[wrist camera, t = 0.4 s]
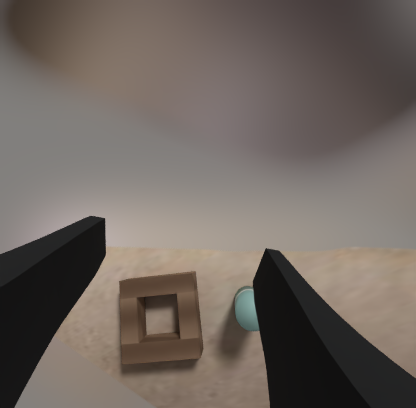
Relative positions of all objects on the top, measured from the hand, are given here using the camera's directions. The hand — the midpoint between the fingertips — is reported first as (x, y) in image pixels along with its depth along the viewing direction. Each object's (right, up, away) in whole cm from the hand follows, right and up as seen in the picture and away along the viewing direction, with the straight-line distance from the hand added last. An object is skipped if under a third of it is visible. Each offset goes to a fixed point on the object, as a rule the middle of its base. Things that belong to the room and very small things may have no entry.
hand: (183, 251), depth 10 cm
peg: (+7, -12, +24) cm, 28 cm away
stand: (-6, -15, +24) cm, 29 cm away
